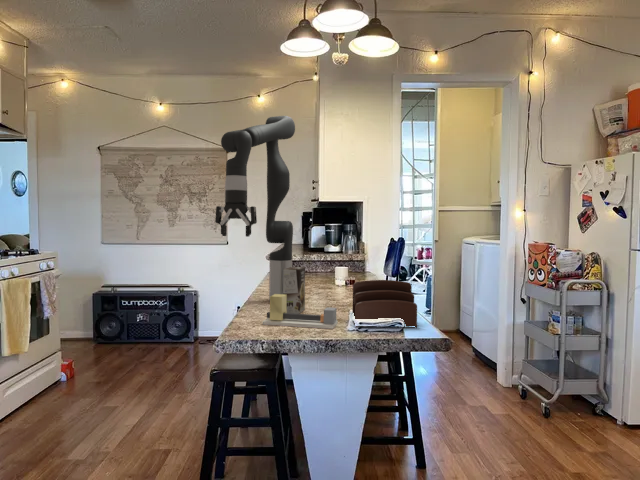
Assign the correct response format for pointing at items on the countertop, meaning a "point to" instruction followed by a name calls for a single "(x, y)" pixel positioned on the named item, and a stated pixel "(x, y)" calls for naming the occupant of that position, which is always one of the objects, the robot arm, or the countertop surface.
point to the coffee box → (294, 289)
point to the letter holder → (384, 300)
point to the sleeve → (278, 306)
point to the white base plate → (306, 319)
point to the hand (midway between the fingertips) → (235, 236)
